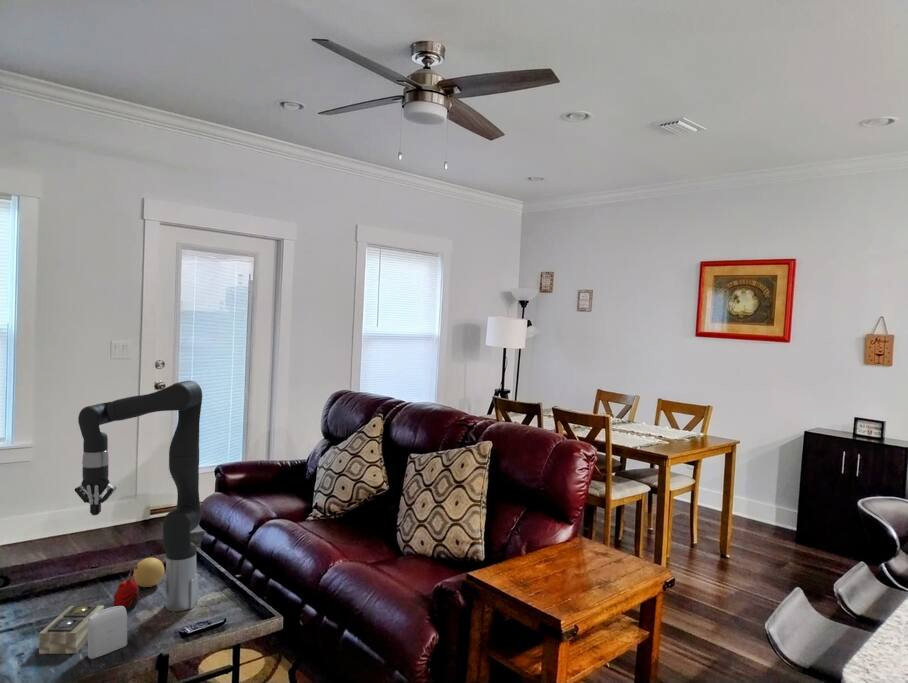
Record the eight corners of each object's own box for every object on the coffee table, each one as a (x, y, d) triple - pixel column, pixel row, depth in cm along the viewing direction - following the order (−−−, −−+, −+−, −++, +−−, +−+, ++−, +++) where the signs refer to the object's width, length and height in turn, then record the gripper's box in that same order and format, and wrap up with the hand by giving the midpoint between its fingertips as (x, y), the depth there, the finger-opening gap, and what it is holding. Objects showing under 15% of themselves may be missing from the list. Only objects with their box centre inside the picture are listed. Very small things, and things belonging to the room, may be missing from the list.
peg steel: (75, 639, 178) (75, 619, 178) (68, 646, 174) (68, 626, 174) (62, 639, 178) (62, 619, 177) (55, 646, 174) (55, 626, 174)
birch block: (103, 624, 188) (103, 603, 188) (75, 653, 172) (75, 631, 172) (70, 624, 188) (70, 603, 187) (39, 653, 172) (39, 631, 171)
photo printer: (90, 661, 169) (90, 618, 168) (85, 655, 172) (85, 613, 171) (129, 646, 177) (129, 605, 176) (123, 640, 180) (123, 600, 179)
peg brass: (89, 625, 186) (89, 606, 186) (83, 631, 182) (83, 612, 182) (77, 625, 186) (77, 606, 185) (70, 631, 182) (70, 612, 182)
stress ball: (163, 591, 213) (173, 564, 220) (149, 578, 207) (160, 551, 214) (137, 593, 214) (148, 566, 222) (122, 580, 208) (134, 553, 215)
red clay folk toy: (130, 599, 204) (131, 556, 204) (144, 604, 201) (144, 561, 200) (109, 609, 198) (109, 564, 197) (122, 614, 194) (122, 569, 194)
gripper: (121, 461, 206) (121, 511, 207) (81, 460, 205) (81, 510, 206) (110, 467, 199) (110, 518, 200) (68, 466, 198) (68, 518, 199)
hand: (95, 514), depth 203 cm, fingers closed
